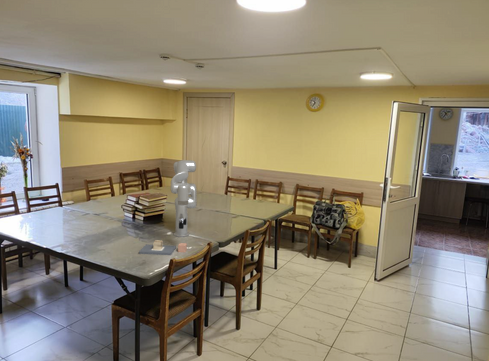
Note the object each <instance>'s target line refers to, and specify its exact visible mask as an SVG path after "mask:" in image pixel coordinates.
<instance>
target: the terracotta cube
mask: <svg viewBox="0 0 489 361" xmlns="http://www.w3.org/2000/svg"><path fill="white" fill-rule="evenodd" d="M187 246H188V245H187V242H185V243H184V242H183V243H182V242H180V243H178V245H177V252H178V253H186V252H187V250H188V248H187Z"/></svg>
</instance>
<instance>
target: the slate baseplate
mask: <svg viewBox="0 0 489 361" xmlns="http://www.w3.org/2000/svg"><path fill="white" fill-rule="evenodd" d="M176 249H177V245H168V244H167V245H166V244H163V247H162V249H161V250H154V249H153V244H147V243H146V244H145V245H143V247H141V249H140V250H139V251H138V254H140V255H141V254H142V255H157V256H158V255H159V256H172V254H173V253H174V251H175V250H176Z"/></svg>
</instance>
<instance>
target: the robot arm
mask: <svg viewBox="0 0 489 361" xmlns="http://www.w3.org/2000/svg"><path fill="white" fill-rule="evenodd" d="M173 170H174V174H175V175H173V177H172V178H171V181H170V192H171V193H172V194H177V197H175V199H174V206H175V207H174V208H175V232H173V236H175V237H178V238H179V237H180V238H181V237H183V238H184V237H188V236H189V235H190V232H189V231H188V224H189V223H188V222H189V221H188V219H189V217H188V215H189V214H188V209H195V208H197V202H198V201H197V200H198V198H197V193H198V192H197V191H198V190H197V185H196V183H192V182H191V183H189V182H188V179H189V176H190V175H189V173H195V172H196V170H197V163H196V161H195V160H190V159H189V160H186V159H184V160H182V159H181V160H179V161H175V162H174V163H173Z"/></svg>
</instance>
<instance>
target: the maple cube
mask: <svg viewBox="0 0 489 361" xmlns="http://www.w3.org/2000/svg"><path fill="white" fill-rule="evenodd" d="M152 245H153V249H154V250H161V249H162V247H163V245H164V244H163V240H158V239H155V240H154V242H153V244H152Z"/></svg>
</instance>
